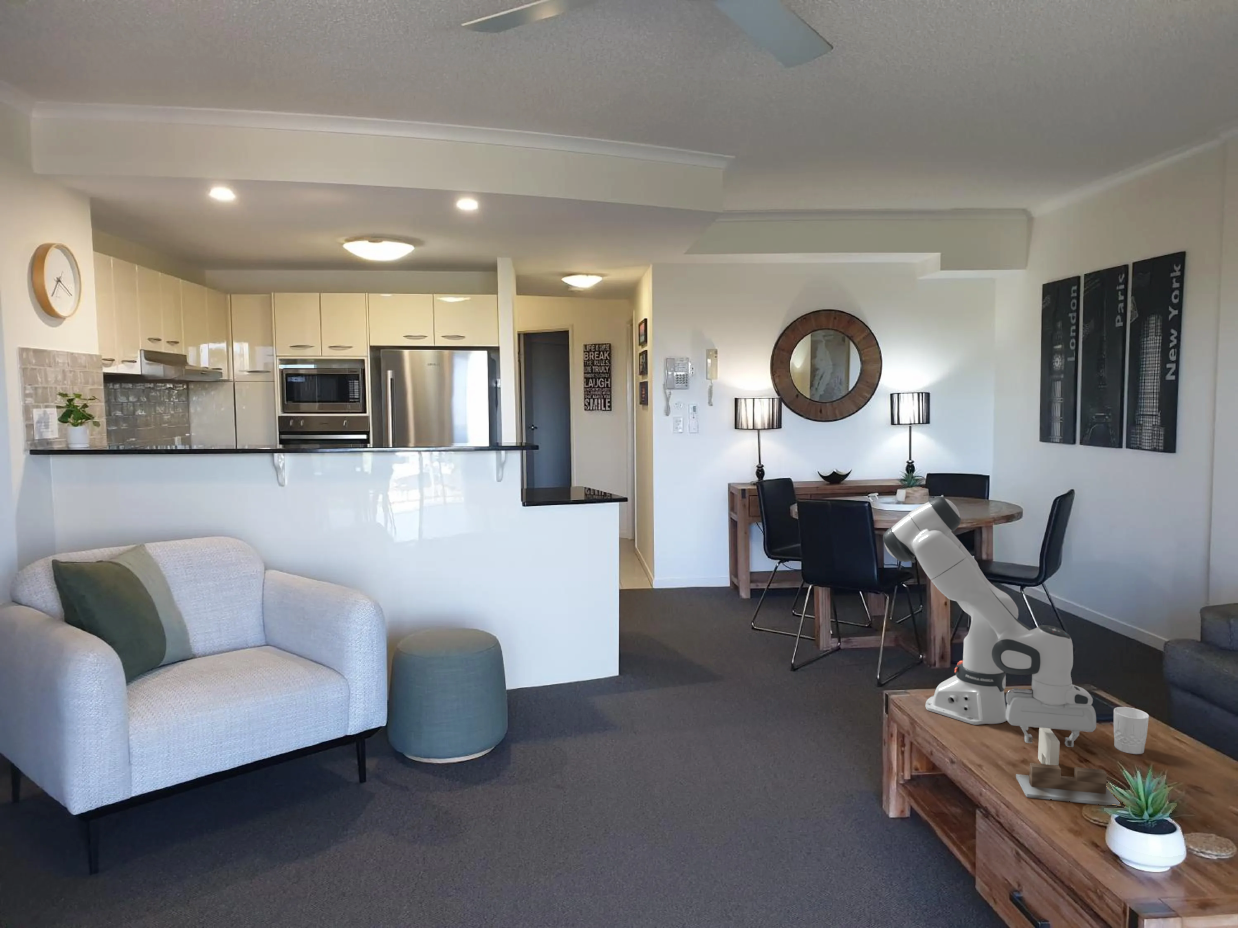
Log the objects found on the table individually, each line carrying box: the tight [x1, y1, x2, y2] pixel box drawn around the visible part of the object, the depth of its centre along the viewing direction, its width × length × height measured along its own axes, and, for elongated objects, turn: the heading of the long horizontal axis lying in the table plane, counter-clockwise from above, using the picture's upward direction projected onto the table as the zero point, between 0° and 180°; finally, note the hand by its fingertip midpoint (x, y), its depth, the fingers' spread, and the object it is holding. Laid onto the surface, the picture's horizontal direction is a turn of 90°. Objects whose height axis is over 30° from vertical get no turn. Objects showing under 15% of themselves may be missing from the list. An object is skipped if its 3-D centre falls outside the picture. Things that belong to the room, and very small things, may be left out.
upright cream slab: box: [1037, 727, 1061, 766], centre depth 202 cm, size 10×2×9 cm, turn 167°
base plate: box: [1015, 762, 1121, 806], centre depth 190 cm, size 20×10×6 cm, turn 77°
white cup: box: [1113, 706, 1150, 755], centre depth 212 cm, size 8×8×10 cm
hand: (1048, 743), depth 202 cm, fingers open, 8 cm apart
